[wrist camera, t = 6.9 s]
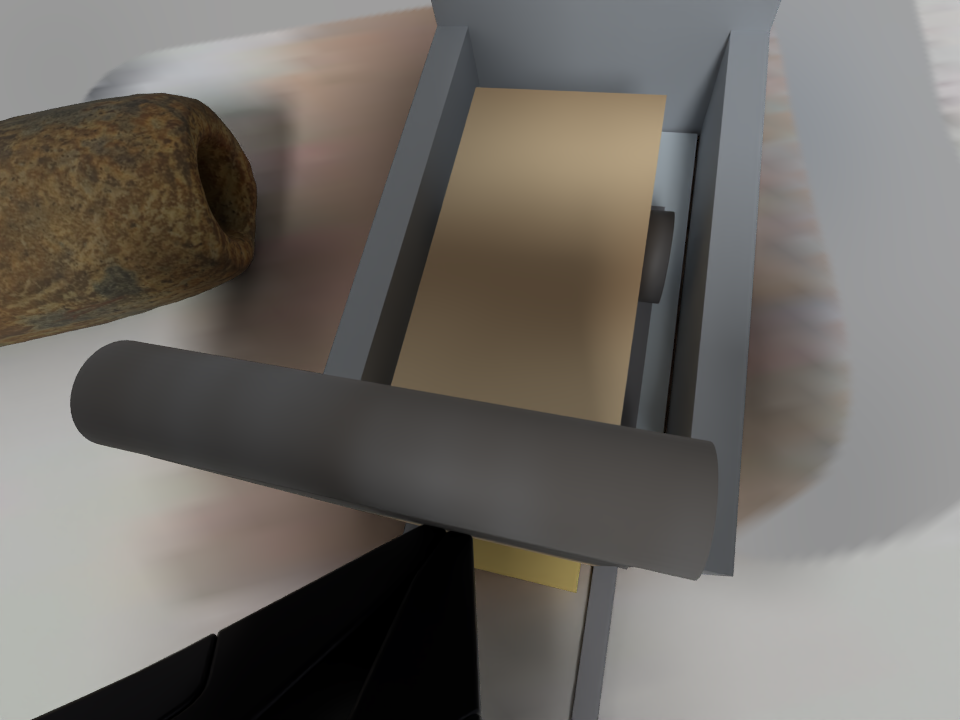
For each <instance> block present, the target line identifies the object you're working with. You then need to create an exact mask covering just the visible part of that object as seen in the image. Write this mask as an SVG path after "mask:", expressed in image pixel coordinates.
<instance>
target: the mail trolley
mask: <svg viewBox="0 0 960 720" xmlns="http://www.w3.org/2000/svg"><path fill="white" fill-rule="evenodd" d="M666 97H667V95H652V94H628V93H604V92H579V91H555V90H531V89H506V88H482V87H476V88H475V92H474V95H473V99H472V102H471V106H470V109H469V113H468V116H467V120H466V123H465V127H464V131H463V134H462V138H461V141H460V145H459V148H458V152H457V155H456V159H455V162H454V166H453V169H452V173H451V176H450V180H449V183H448V187H447V190H446V194H445V197H444V201H443V204H442V208H441V211H440V215H439V218H438V222H437V225H436V229H435V232H434V236H433V239H432V243H431V246H430V250H429V253H428V257H427V260H426V264H425V267H424V271H423V274H422V278H421V281H420V285H419V289H418V292H417V296H416V299H415V303H414V306H413V310H412V313H411V317H410V320H409V324H408V327H407V331H406V334H405V338H404V341H403V345H402V348H401V352H400V355H399V359H398V362H397V366H396V369H395V373H394V376H393V380H392V383H391V386H390V385H384V384H378V383H373V382H367V381H361V380H355V379H350V378H344V377H338V376H332V375H327V374H321V373H315V372H309V371H304V370H298V369H292V368H286V367H280V366H275V365H269V364H263V363H257V362H252V361H246V360H240V359H234V358H229V357H223V356H217V355H211V354H206V353H200V352H194V351H188V350H183V349H177V348H171V347H165V346H160V345H154V344H148V343H142V342H137V341H129V340H124V341H117V342H113V343H110V344H108V345H106V346H104V347H102V348H100V349H99V350H98V351H96V352H95V353H94V354H93V355H92V356H90V357H89V359H88V360H87V361H86V362H85V363H84V365H83V366H82V367H81V369H80V371H79V373H78V374H77V376H76V379H75V381H74V384H73V388H72V392H71V399H70V407H71V414H72V418H73V421H74V423H75V426H76V427H77V429H78V431H79V432H80V433H81V434H82V435H83V436H84V437H85V438H86V439H88V440H90V441H91V442H94V443H96V444H100V445H104V446H109V447H113V448H117V449H122V450H126V451H130V452H135V453H139V454H144V455H148V456H150V457H154V458H158V459H162V460H166V461H170V462H174V463H178V464H181V465H185V466H189V467H193V468H197V469H201V470H205V471H209V472H213V473H216V474H220V475H224V476H228V477H232V478H236V479H240V480H244V481H248V482H251V483H255V484H259V485H263V486H267V487H271V488H275V489H279V490H283V491H286V492H290V493H294V494H298V495H302V496H306V497H310V498H314V499H318V500H321V501H325V502H329V503H333V504H337V505H341V506H345V507H349V508H353V509H356V510H360V511H364V512H368V513H372V514H376V515H380V516H384V517H388V518H391V519H395V520H399V521H403V522H407V523H411V524H415V525H419V526H420V525H423V524H425V525H429V526H433V527H438V528H442V529H445V530H446V532H448V531H450V530H451V531H455V532H459V533H464V534H468V535H471V536H472V538H475V539H479V540H483V541H487V542H492V543H496V544H500V545H505V546H509V547H513V548H518V549H522V550H526V551H531V552H535V553H539V554H543V555H548V556H552V557H556V558H561V559H565V560H569V561H574V562H578V563H582V564H587V565H591V566H615V567H619V568H623V569H627V568H628V567H637V568H642V569H646V570H651V571H655V572H659V573H664V574H668V575H672V576H677V577H681V578H686V579H690V580H694V581H695V580H697V579H698V578H699V577H700V576H701V574H702V572H703V570H704V568H705V565H706V562H707V559H708V556H709V552H710V548H711V543H712V539H713V533H714V527H715V521H716V513H717V502H718V460H717V453H716V449H715V446H714V444H713V443H712V442H711V441H707V440H701V439H695V438H689V437H683V436H678V435H672V434H666V433H660V432H655V431H649V430H643V429H637V428H632V427H626V426H620V424H621V417H622V410H623V403H624V396H625V388H626V381H627V374H628V367H629V360H630V353H631V346H632V339H633V332H634V325H635V317H636V310H637V303H638V301H639V302H647V303H656V304H658V303H659V302H660V299H661V296H662V292H663V288H664V284H665V279H666V274H667V269H668V264H669V259H670V253H671V246H672V240H673V232H674V222H675V212H673V211H661V210H651V204H652V197H653V190H654V182H655V175H656V168H657V161H658V154H659V147H660V140H661V133H662V126H663V119H664V111H665V104H666Z"/></svg>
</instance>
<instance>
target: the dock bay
mask: <svg viewBox="0 0 960 720" xmlns="http://www.w3.org/2000/svg"><path fill="white" fill-rule="evenodd" d="M431 2H432V6H433V10H434V14H435V18H436V22H437V29H436V32H435V35H434V38H433V41H432V44H431V47H430V50H429V53H428V56H427V59H426V62H425V65H424V68H423V72H422V75H421V78H420V81H419V84H418V87H417V90H416V93H415V96H414V99H413V102H412V105H411V108H410V111H409V114H408V117H407V120H406V123H405V126H404V129H403V132H402V135H401V138H400V141H399V145H398V148H397V151H396V154H395V157H394V160H393V163H392V166H391V169H390V172H389V175H388V178H387V181H386V184H385V187H384V190H383V193H382V196H381V199H380V202H379V205H378V208H377V211H376V215H375V218H374V221H373V224H372V227H371V230H370V233H369V236H368V239H367V242H366V245H365V248H364V251H363V254H362V257H361V260H360V263H359V266H358V269H357V272H356V275H355V278H354V281H353V284H352V288H351V291H350V294H349V297H348V300H347V303H346V306H345V309H344V312H343V315H342V318H341V321H340V324H339V327H338V330H337V333H336V336H335V339H334V342H333V345H332V348H331V351H330V354H329V358H328V361H327V364H326V367H325V370H324V373H323V374H327V375H332V376H338V377H344V378H350V379H355V380H361V381H367V382H373V383H378V384H384V385H390V386H391V383H392V380H393V376H394V373H395V369H396V366H397V362H398V359H399V355H400V352H401V348H402V345H403V341H404V338H405V334H406V331H407V327H408V324H409V320H410V317H411V313H412V310H413V306H414V303H415V299H416V296H417V292H418V289H419V285H420V281H421V278H422V274H423V271H424V267H425V264H426V260H427V257H428V253H429V250H430V246H431V243H432V239H433V236H434V232H435V229H436V225H437V222H438V218H439V215H440V211H441V208H442V204H443V201H444V197H445V194H446V190H447V187H448V183H449V180H450V176H451V173H452V169H453V166H454V162H455V159H456V155H457V152H458V148H459V145H460V141H461V138H462V134H463V131H464V127H465V123H466V120H467V116H468V113H469V109H470V106H471V102H472V99H473V95H474V92H475V88H476V87H482V88H506V89H531V90H555V91H579V92H604V93H628V94H652V95H667V97H666V104H665V111H664V119H663V126H662V133H661V140H660V147H659V154H658V161H657V168H656V175H655V182H654V190H653V197H652V204H651V210H661V211H673V212H675V222H674V232H673V240H672V246H671V253H670V259H669V264H668V269H667V274H666V279H665V284H664V288H663V292H662V296H661V299H660V302H659V303H658V304H656V303H647V302H639V301H638V303H637V310H636V317H635V325H634V332H633V339H632V346H631V353H630V360H629V367H628V374H627V381H626V388H625V396H624V403H623V410H622V417H621V424H620V426H626V427H632V428H637V429H643V430H649V431H655V432H660V433H663V431H664V422H665V414H666V405H667V396H668V387H669V379H670V370H671V361H672V352H673V344H674V335H675V326H676V318H677V309H678V300H679V291H680V283H681V274H682V265H683V256H684V248H685V239H686V230H687V222H688V213H689V204H690V195H691V187H692V178H693V169H694V160H695V152H696V143H697V136H700V137H699V146H698V155H697V164H696V172H695V181H694V190H693V199H692V208H691V217H690V226H689V234H688V243H687V252H686V261H685V270H684V279H683V288H682V297H681V305H680V314H679V323H678V332H677V341H676V350H675V359H674V367H673V376H672V385H671V394H670V403H669V412H668V421H667V429H666V434H672V435H678V436H683V437H689V438H695V439H701V440H707V441H711V442H712V443H713V444H714V446H715V449H716V453H717V460H718V502H717V513H716V521H715V527H714V533H713V539H712V543H711V548H710V552H709V556H708V559H707V562H706V565H705V568H704V570H703V572H702V574H706V575H720V576H733V572H734V557H735V542H736V527H737V512H738V497H739V482H740V467H741V453H742V438H743V423H744V408H745V393H746V378H747V363H748V348H749V334H750V319H751V304H752V289H753V274H754V259H755V244H756V229H757V214H758V200H759V185H760V170H761V155H762V140H763V125H764V110H765V95H766V81H767V66H768V51H769V36H770V29H771V27H772V24H773V21H774V18H775V16H776V13H777V10H778V8H779V5H780V2H781V0H431ZM418 526H419V525H415V524H411V523H407V522H406V525H405V528H404V532H403V534H404V533H406V532H408V531H410V530H412V529H414V528H416V527H418ZM473 551H474V568H476V569H480V570H485V571H489V572H493V573H497V574H501V575H505V576H509V577H513V578H517V579H521V580H525V581H530V582H534V583H538V584H542V585H546V586H550V587H554V588H558V589H562V590H566V591H570V592H574V593H576V591H577V585H578V578H579V571H580V565H581V563H578V562H574V561H569V560H565V559H561V558H556V557H552V556H548V555H543V554H539V553H535V552H531V551H526V550H522V549H518V548H513V547H509V546H505V545H500V544H496V543H492V542H487V541H483V540H479V539H475V538H473ZM617 569H618V567H615V566H594V567H593V574H592V581H591V588H590V595H589V602H588V608H587V615H586V622H585V629H584V636H583V643H582V650H581V657H580V664H579V671H578V678H577V685H576V691H575V698H574V705H573V712H572V719H571V720H598V714H599V706H600V699H601V691H602V684H603V676H604V668H605V661H606V653H607V645H608V638H609V630H610V623H611V615H612V607H613V600H614V592H615V584H616V577H617Z"/></svg>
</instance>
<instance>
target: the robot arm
mask: <svg viewBox="0 0 960 720" xmlns="http://www.w3.org/2000/svg"><path fill="white" fill-rule="evenodd" d="M32 720H482V718H481V699H480V678H479V657H478V635H477V614H476V593H475V572H474V551H473V538H472V536H471V535H468V534H464V533H459V532H455V531H451V530H450V531H448V532H446V530H445V529H442V528H438V527H433V526H429V525H425V524H423V525H420V526H418V527H416V528H414V529H412V530H410V531H408V532H406V533H404V534H403V535H401V536H399V537H397V538H395V539H393V540H391V541H389V542H387V543H385V544H384V545H382V546H380V547H378V548H376V549H374V550H372V551H370V552H368V553H366V554H365V555H363V556H361V557H359V558H357V559H355V560H353V561H351V562H349V563H347V564H346V565H344V566H342V567H340V568H338V569H336V570H334V571H332V572H330V573H328V574H327V575H325V576H323V577H321V578H319V579H317V580H315V581H313V582H311V583H309V584H308V585H306V586H304V587H302V588H300V589H298V590H296V591H294V592H292V593H290V594H288V595H287V596H285V597H283V598H281V599H279V600H277V601H275V602H273V603H271V604H269V605H268V606H266V607H264V608H262V609H260V610H258V611H256V612H254V613H252V614H250V615H249V616H247V617H245V618H243V619H241V620H239V621H237V622H235V623H233V624H231V625H230V626H228V627H226V628H224V629H222V630H220V631H219V632H218V634H217V636H216V635H215V634H210V635H209V636H207V637H205V638H203V639H201V640H199V641H197V642H195V643H193V644H191V645H189V646H188V647H186V648H184V649H182V650H180V651H178V652H176V653H174V654H172V655H170V656H168V657H166V658H164V659H162V660H160V661H158V662H156V663H154V664H152V665H150V666H148V667H146V668H144V669H142V670H140V671H138V672H136V673H134V674H132V675H129V676H127V677H125V678H123V679H121V680H118V681H116V682H114V683H112V684H110V685H108V686H105V687H103V688H101V689H99V690H97V691H94V692H92V693H90V694H88V695H86V696H84V697H81V698H79V699H77V700H75V701H73V702H70V703H68V704H66V705H63V706H61V707H59V708H57V709H54V710H52V711H50V712H48V713H45V714H43V715H41V716H38V717H36V718H34V719H32Z"/></svg>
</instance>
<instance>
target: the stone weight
mask: <svg viewBox="0 0 960 720" xmlns="http://www.w3.org/2000/svg"><path fill="white" fill-rule="evenodd" d="M256 207H257V187H256V183H255V180H254V177H253V173H252V169H251V165H250V162H249V161H248V159H247V157H246V156H245V154H244V152H243V151H242V149H241V147H240V145H239V143H238V142H237V140H236V138H235V137H234V136H233V134H232V133H231V131H230V130H229V129H228V128H227V127H226V125H225V124H224V123H223V122H222V121H221V119H220V118H219V117H218V116H217V115H216V114H215V113H214V112H213V111H212V110H211V109H210V108H209V107H208V106H207V105H205V104H203V103H202V102H200V101H199V100H197V99H192V98H188V97H183V96H178V95H171V94H166V93H153V94H135V95H130V96H124V97H115V98H107V99H101V100H95V101H90V102H85V103H80V104H74V105H70V106H65V107H59V108H54V109H50V110H45V111H41V112H36V113H31V114H26V115H22V116H17V117H13V118H9V119H6V120H3V121H0V347H2V346H6V345H11V344H16V343H21V342H26V341H29V340H33V339H38V338H42V337H47V336H52V335H56V334H60V333H65V332H68V331H74V330H78V329H83V328H87V327H92V326H96V325H101V324H105V323H109V322H112V321H115V320H118V319H122V318H125V317H128V316H132V315H136V314H140V313H143V312H146V311H149V310H152V309H154V308H157V307H160V306H163V305H168V304H171V303H174V302H178V301H180V300H183V299H186V298H189V297H192V296H195V295H198V294H200V293H202V292H205V291H208V290H210V289H212V288H214V287H216V286H218V285H221V284H223V283H225V282H227V281H229V280H231V279H233V278H235V277H236V276H238V275H240V274H241V273H242V272H244V271H245V270H246V269H247V268H248V266H249V265H250V263H251V262H252V259H253V255H254V248H255V242H254V239H255V229H256V223H255V213H256Z"/></svg>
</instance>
